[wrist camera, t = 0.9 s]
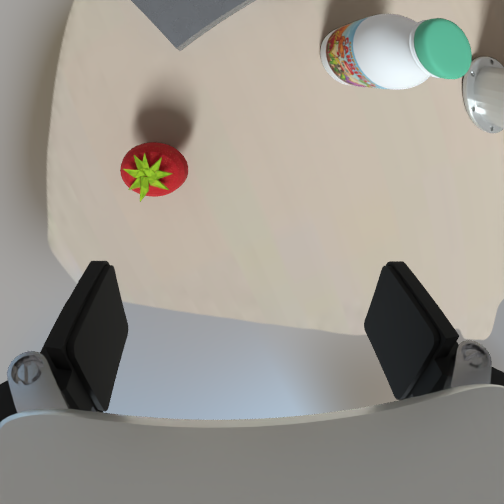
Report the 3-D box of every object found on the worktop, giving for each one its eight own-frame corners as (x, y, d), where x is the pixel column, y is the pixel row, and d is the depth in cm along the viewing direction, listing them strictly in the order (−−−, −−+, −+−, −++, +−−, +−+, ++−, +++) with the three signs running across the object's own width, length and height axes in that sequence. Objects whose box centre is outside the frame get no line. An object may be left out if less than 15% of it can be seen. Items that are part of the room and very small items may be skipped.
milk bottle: (345, 17, 28) (443, -20, 11) (387, 60, 31) (500, 64, 14) (305, 54, 31) (383, 33, 14) (350, 97, 34) (451, 122, 17)
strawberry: (190, 182, 38) (180, 214, 30) (133, 178, 37) (107, 208, 29) (195, 136, 35) (185, 154, 27) (135, 132, 34) (107, 150, 26)
